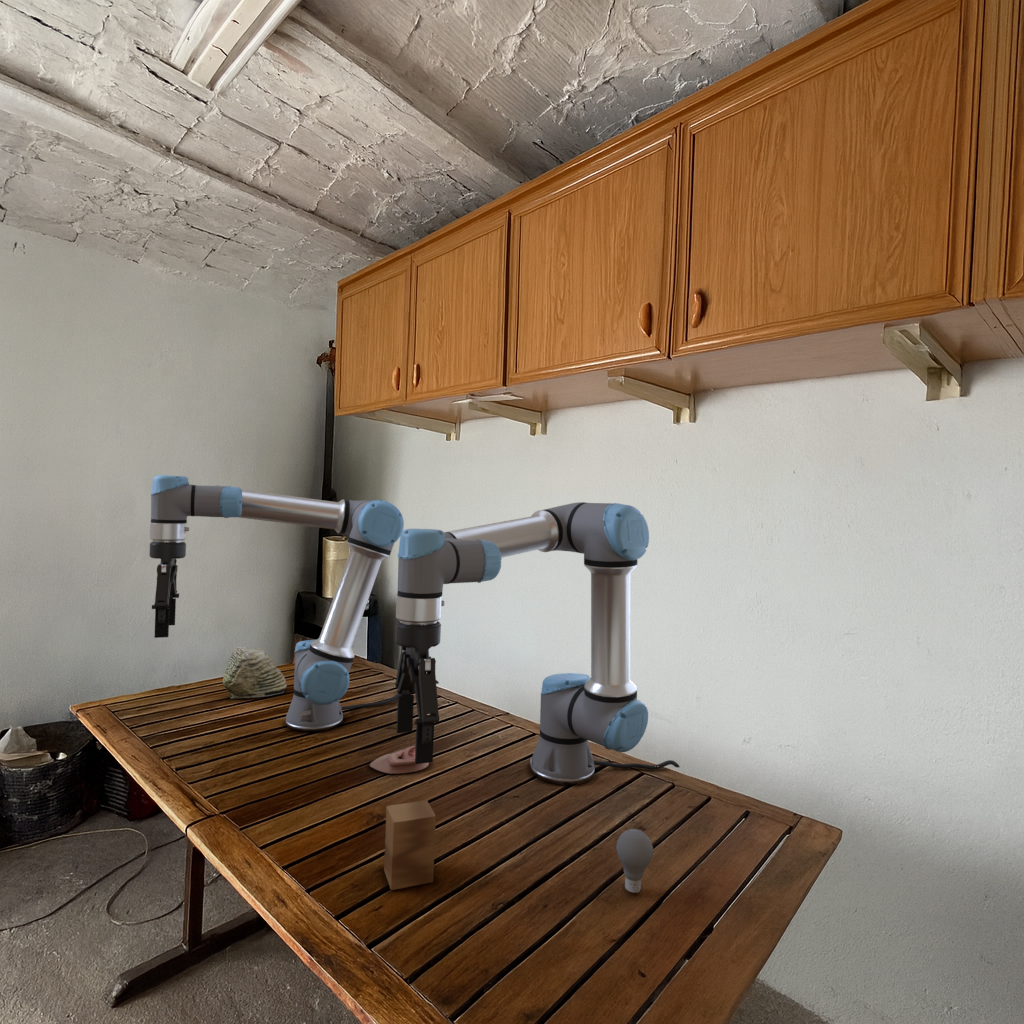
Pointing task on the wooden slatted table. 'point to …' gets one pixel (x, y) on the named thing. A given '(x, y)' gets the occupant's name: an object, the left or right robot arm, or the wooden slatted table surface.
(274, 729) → the wooden slatted table surface
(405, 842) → the block
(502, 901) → the wooden slatted table surface
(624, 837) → the light bulb
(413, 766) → the anatomical model
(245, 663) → the fossil
